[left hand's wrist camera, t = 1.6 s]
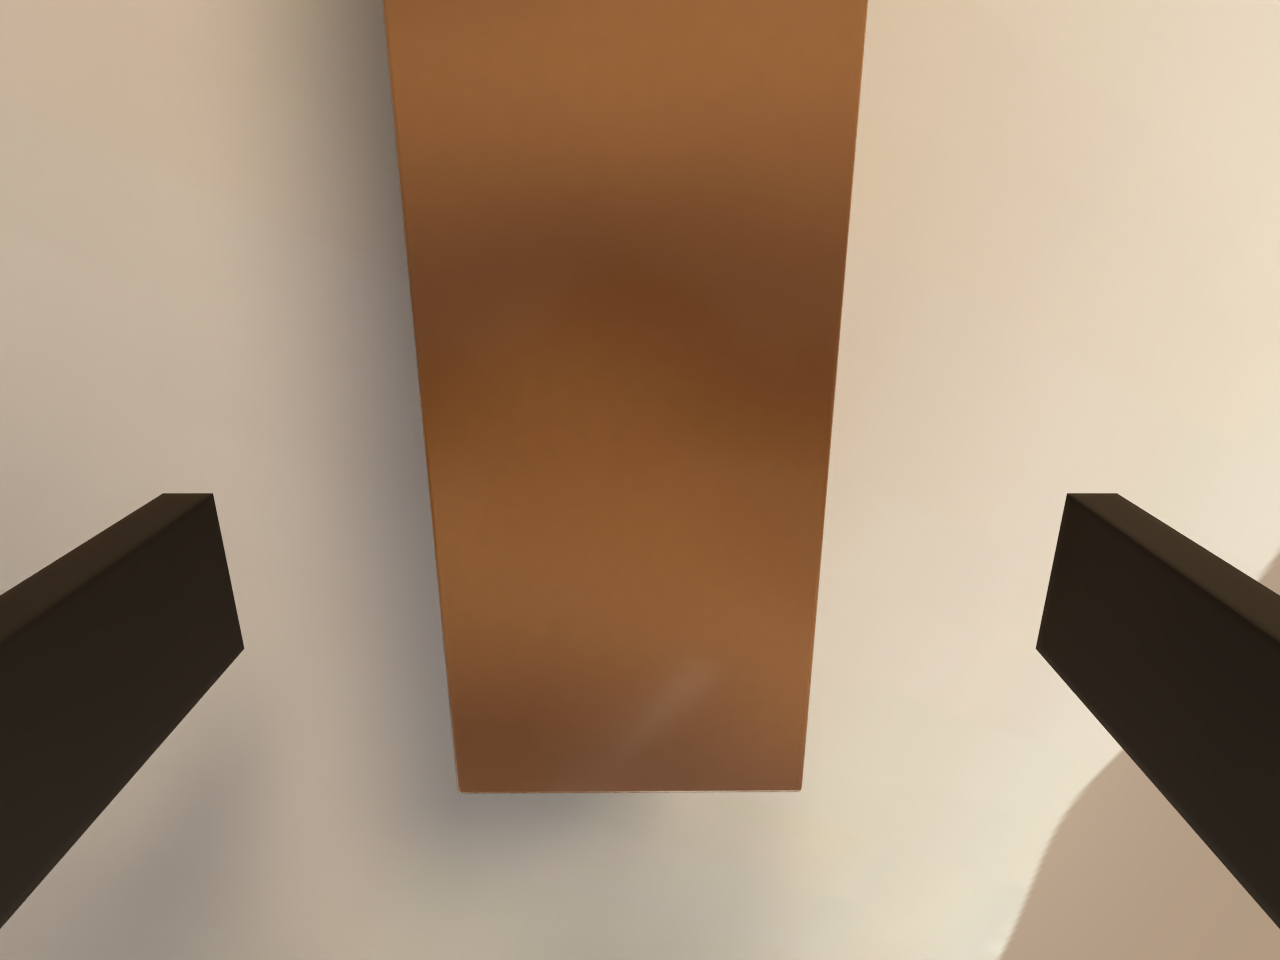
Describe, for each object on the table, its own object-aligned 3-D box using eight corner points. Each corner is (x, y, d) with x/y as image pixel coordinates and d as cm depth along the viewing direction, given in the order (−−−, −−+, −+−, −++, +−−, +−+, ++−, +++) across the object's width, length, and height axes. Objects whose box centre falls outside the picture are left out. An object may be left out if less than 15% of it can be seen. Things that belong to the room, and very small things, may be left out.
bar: (736, 563, 22) (802, 793, 13) (526, 563, 22) (456, 795, 13) (794, -735, 14) (1068, -2338, 5) (458, -738, 14) (155, -2359, 5)
